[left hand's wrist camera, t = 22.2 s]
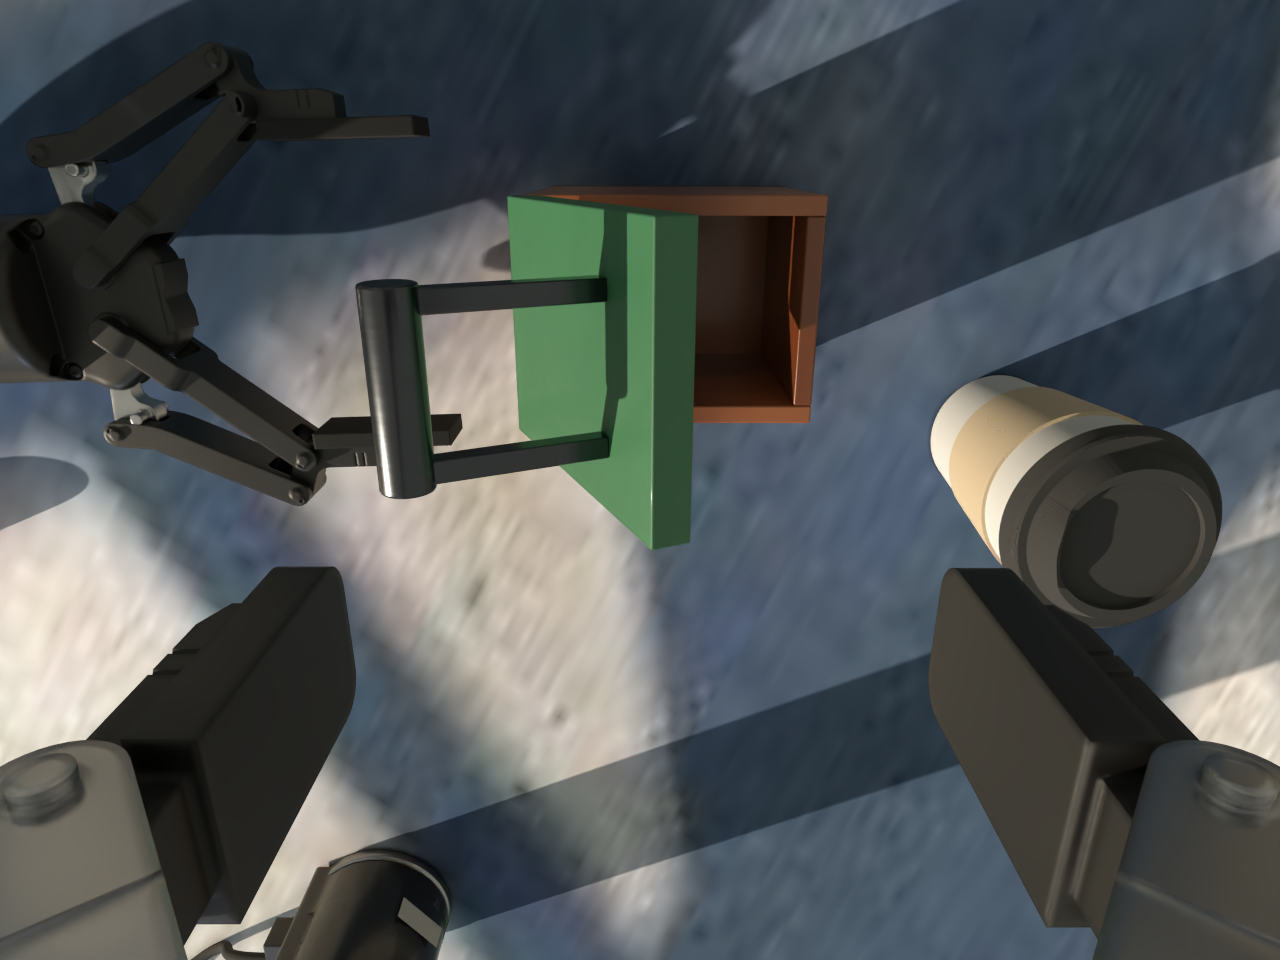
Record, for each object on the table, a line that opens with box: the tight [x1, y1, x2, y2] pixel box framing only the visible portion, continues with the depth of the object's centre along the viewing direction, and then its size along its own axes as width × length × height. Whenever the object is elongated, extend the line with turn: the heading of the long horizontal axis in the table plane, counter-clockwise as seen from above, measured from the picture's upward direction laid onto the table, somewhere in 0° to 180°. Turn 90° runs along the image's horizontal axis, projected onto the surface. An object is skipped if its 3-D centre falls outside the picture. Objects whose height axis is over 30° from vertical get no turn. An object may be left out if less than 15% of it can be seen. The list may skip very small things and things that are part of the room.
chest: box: [527, 186, 828, 423], centre depth 39 cm, size 12×9×11 cm
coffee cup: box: [931, 375, 1222, 628], centre depth 40 cm, size 9×9×15 cm
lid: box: [355, 195, 699, 550], centre depth 27 cm, size 13×9×8 cm
